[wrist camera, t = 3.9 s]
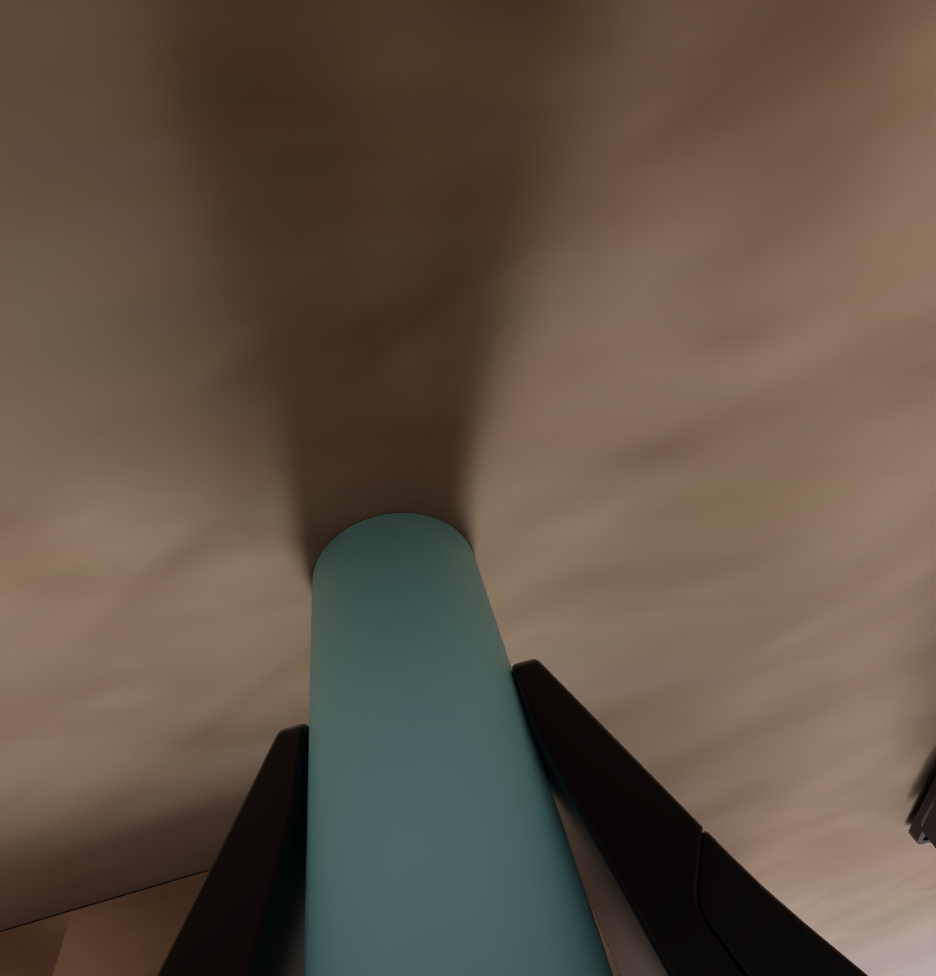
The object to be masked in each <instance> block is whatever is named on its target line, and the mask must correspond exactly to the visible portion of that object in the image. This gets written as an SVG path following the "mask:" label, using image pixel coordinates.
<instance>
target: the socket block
mask: <svg viewBox="0 0 936 976" xmlns="http://www.w3.org/2000/svg"><path fill="white" fill-rule="evenodd" d="M208 872H209V871H207V872H203V873H200V874H196V875H193V876H190V877H186V878H183V879H179V880H176V881H173V882H169V883H166V884H162V885H159V886H156V887H152V888H149V889H145V890H142V891H139V892H135V893H132V894H128V895H125V896H122V897H118V898H115V899H111V900H108V901H105V902H101V903H98V904H94V905H91V906H88V907H84V908H81V909H77V910H74V911H71V912H67V913H64V914H60V915H57V916H54V917H50V918H47V919H43V920H40V921H37V922H33V923H30V924H27V925H23V926H20V927H16V928H13V929H10V930H6V931H3V932H0V976H157V974H158V972H159V970H160V968H161V966H162V964H163V962H164V960H165V958H166V956H167V954H168V952H169V950H170V948H171V946H172V944H173V942H174V940H175V938H176V936H177V934H178V932H179V930H180V928H181V926H182V924H183V922H184V920H185V918H186V916H187V914H188V912H189V910H190V908H191V906H192V904H193V902H194V900H195V898H196V896H197V894H198V892H199V890H200V888H201V886H202V884H203V882H204V880H205V878H206V876H207V874H208Z"/></svg>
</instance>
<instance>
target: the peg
mask: <svg viewBox="0 0 936 976" xmlns="http://www.w3.org/2000/svg"><path fill="white" fill-rule="evenodd" d="M304 976H613V974H612V971H611V968H610V965H609V962H608V959H607V956H606V953H605V950H604V947H603V944H602V941H601V938H600V935H599V932H598V929H597V926H596V923H595V920H594V917H593V914H592V911H591V908H590V904H589V901H588V898H587V895H586V892H585V889H584V886H583V883H582V880H581V877H580V874H579V871H578V868H577V865H576V862H575V859H574V856H573V853H572V850H571V847H570V844H569V841H568V838H567V835H566V832H565V829H564V826H563V823H562V820H561V817H560V814H559V811H558V808H557V805H556V802H555V799H554V796H553V793H552V790H551V787H550V783H549V780H548V777H547V774H546V771H545V768H544V765H543V763H542V760H541V757H540V755H539V752H538V749H537V746H536V743H535V740H534V737H533V734H532V731H531V728H530V725H529V722H528V719H527V716H526V713H525V710H524V707H523V704H522V701H521V698H520V695H519V692H518V688H517V685H516V682H515V679H514V676H513V673H512V669H511V665H510V662H509V659H508V656H507V653H506V650H505V647H504V644H503V641H502V638H501V635H500V632H499V629H498V626H497V623H496V620H495V617H494V614H493V611H492V608H491V605H490V602H489V599H488V596H487V593H486V590H485V587H484V584H483V581H482V578H481V575H480V572H479V569H478V566H477V563H476V560H475V557H474V554H473V551H472V549H471V547H470V545H469V543H468V542H467V541H466V539H465V538H464V537H463V536H462V535H461V534H460V533H459V532H458V531H457V530H456V529H454V528H453V527H452V526H450V525H449V524H447V523H445V522H443V521H441V520H439V519H436V518H433V517H430V516H426V515H422V514H415V513H391V514H384V515H379V516H375V517H371V518H368V519H365V520H363V521H360V522H358V523H356V524H354V525H352V526H350V527H349V528H347V529H345V530H344V531H342V532H341V533H340V534H338V535H337V536H336V537H335V538H334V539H333V540H332V541H331V542H330V543H329V544H328V545H327V546H326V547H325V549H324V550H323V551H322V553H321V555H320V556H319V558H318V560H317V562H316V565H315V568H314V572H313V577H312V619H311V665H310V711H309V756H308V802H307V848H306V893H305V939H304Z"/></svg>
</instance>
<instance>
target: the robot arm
mask: <svg viewBox="0 0 936 976" xmlns="http://www.w3.org/2000/svg"><path fill="white" fill-rule="evenodd" d="M512 673H513V676H514V679H515V682H516V685H517V688H518V692H519V695H520V698H521V701H522V704H523V707H524V710H525V713H526V716H527V719H528V722H529V725H530V728H531V731H532V734H533V737H534V740H535V743H536V746H537V749H538V752H539V755H540V757H541V760H542V763H543V765H544V768H545V771H546V774H547V777H548V780H549V783H550V787H551V790H552V793H553V796H554V799H555V802H556V805H557V808H558V811H559V814H560V817H561V820H562V823H563V826H564V829H565V832H566V835H567V838H568V841H569V844H570V847H571V850H572V853H573V856H574V859H575V862H576V865H577V868H578V871H579V874H580V877H581V880H582V883H583V886H584V889H585V892H586V895H587V897H588V899H589V902H590V904H591V906H592V909H593V911H594V913H595V916H596V918H597V920H598V923H599V925H600V928H601V930H602V932H603V935H604V937H605V939H606V942H607V944H608V946H609V949H610V951H611V953H612V956H613V958H614V961H615V963H616V965H617V968H618V970H619V972H620V975H621V976H868V975H866V974H865V973H864V972H863V971H862V970H860V969H859V968H858V967H857V966H856V965H854V964H853V963H852V962H851V961H850V960H848V959H847V958H846V957H845V956H844V955H842V954H841V953H840V952H839V951H838V950H836V949H835V948H834V947H833V946H832V945H830V944H829V943H828V942H827V941H826V940H824V939H823V938H822V937H821V936H820V935H818V934H817V933H816V932H815V931H814V930H812V929H811V928H810V927H809V926H808V925H807V924H805V923H804V922H803V921H802V920H801V919H800V918H798V917H797V916H796V915H795V914H794V913H793V912H792V911H790V910H789V909H788V908H787V907H786V906H785V905H784V904H783V903H781V902H780V901H779V900H778V899H777V898H776V897H775V896H773V895H772V894H771V893H770V892H769V891H768V890H767V889H765V888H764V887H763V886H762V885H761V884H760V883H759V882H758V881H757V880H756V879H755V878H754V877H753V876H752V875H751V874H750V873H749V872H748V871H747V870H746V869H745V868H744V867H742V866H741V865H740V864H739V863H738V862H737V861H736V860H735V859H734V858H733V857H732V856H731V855H730V854H729V853H728V852H727V851H726V850H725V849H724V848H723V847H722V846H721V845H720V844H719V843H718V842H717V841H716V840H715V839H714V838H713V837H712V836H711V835H710V834H709V833H708V832H706V831H705V832H703V828H702V826H701V825H700V824H699V823H698V822H697V821H696V820H695V819H694V818H693V817H692V816H691V815H690V814H689V813H688V812H687V811H686V810H685V809H684V808H683V807H682V806H681V805H680V804H679V803H678V802H677V801H676V800H675V798H674V797H673V796H672V795H671V794H670V793H669V792H668V791H667V790H666V789H665V788H664V787H663V786H662V785H661V784H660V783H659V782H658V781H657V780H656V779H655V778H654V777H653V776H652V775H651V774H650V773H649V772H648V771H647V770H646V769H645V768H644V767H643V766H642V765H641V764H640V763H639V762H638V761H637V760H636V759H635V758H634V757H633V756H632V755H631V754H630V753H629V752H628V751H627V750H626V749H625V748H624V747H623V746H622V745H621V744H620V743H619V742H618V741H617V740H616V739H615V738H614V737H613V736H612V735H611V734H610V733H609V731H608V730H607V729H606V728H605V727H604V726H603V725H602V724H601V723H600V722H599V721H598V720H597V719H596V718H595V717H594V716H593V715H592V714H591V713H590V712H589V711H588V710H587V709H586V708H585V707H584V706H583V705H582V704H581V703H580V702H579V701H578V700H577V699H576V698H575V697H574V696H573V695H572V694H571V693H570V692H569V691H568V690H567V689H566V688H565V687H564V686H563V685H562V684H561V683H560V682H559V681H558V680H557V679H556V678H555V677H554V676H553V675H552V674H551V673H550V672H549V671H548V670H547V669H546V668H545V667H544V665H543V664H542V663H540V662H539V661H538V660H536V659H531V660H528V661H524V662H521V663H517V664H515V665H513V667H512ZM308 756H309V726H308V725H306V724H300V725H296V726H293V727H289V728H286V729H283V730H281V731H280V732H279V733H278V734H277V736H276V738H275V740H274V742H273V744H272V746H271V748H270V750H269V752H268V754H267V756H266V758H265V760H264V762H263V764H262V766H261V768H260V770H259V772H258V774H257V776H256V778H255V780H254V782H253V784H252V786H251V788H250V790H249V792H248V794H247V796H246V798H245V800H244V802H243V804H242V806H241V808H240V810H239V812H238V814H237V816H236V818H235V820H234V822H233V824H232V826H231V828H230V830H229V832H228V834H227V836H226V838H225V840H224V842H223V844H222V846H221V848H220V850H219V852H218V854H217V856H216V858H215V860H214V862H213V864H212V866H211V868H210V870H209V872H208V874H207V876H206V878H205V880H204V882H203V884H202V886H201V888H200V890H199V892H198V894H197V896H196V898H195V900H194V902H193V904H192V906H191V908H190V910H189V912H188V914H187V916H186V918H185V920H184V922H183V924H182V926H181V928H180V930H179V932H178V934H177V936H176V938H175V940H174V942H173V944H172V946H171V948H170V950H169V952H168V954H167V956H166V958H165V960H164V962H163V964H162V966H161V968H160V970H159V972H158V974H157V976H304V939H305V893H306V848H307V802H308ZM909 834H910V835H911V836H912V837H913V839H914V840H915V841H916V842H917V843H918V844H925V843H928V842H931V843H932V844H933V845H934V847H935V848H936V776H935V778H934V780H933V782H932V784H931V786H930V788H929V791H928V793H927V795H926V797H925V799H924V801H923V803H922V805H921V807H920V809H919V811H918V813H917V815H916V817H915V819H914V821H913V823H912V825H911V827H910V829H909Z"/></svg>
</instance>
